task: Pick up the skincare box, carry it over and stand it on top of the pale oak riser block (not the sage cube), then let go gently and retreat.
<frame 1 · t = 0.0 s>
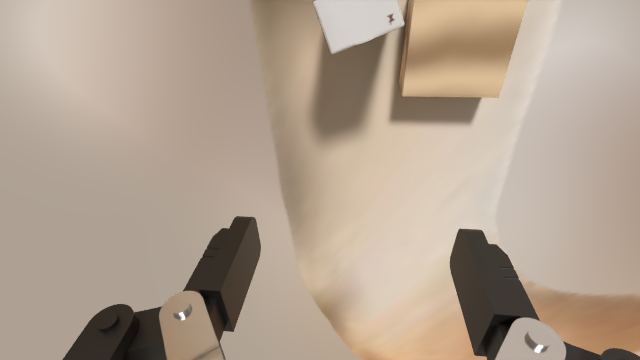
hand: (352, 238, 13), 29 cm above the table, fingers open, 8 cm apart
oak riser: (450, 39, 35), on the table
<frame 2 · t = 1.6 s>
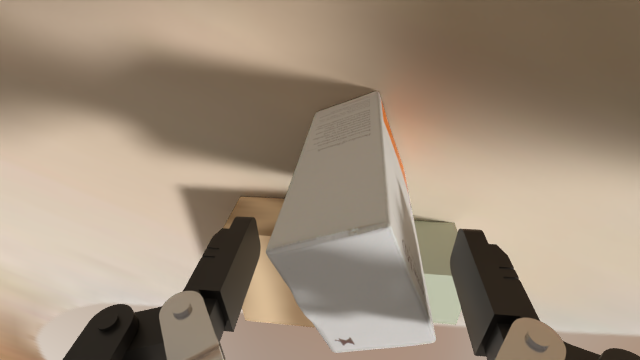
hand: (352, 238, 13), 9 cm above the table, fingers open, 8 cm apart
skincare box: (361, 139, 21), on the table
oak riser: (308, 247, 26), on the table
sage cube: (414, 244, 25), on the table
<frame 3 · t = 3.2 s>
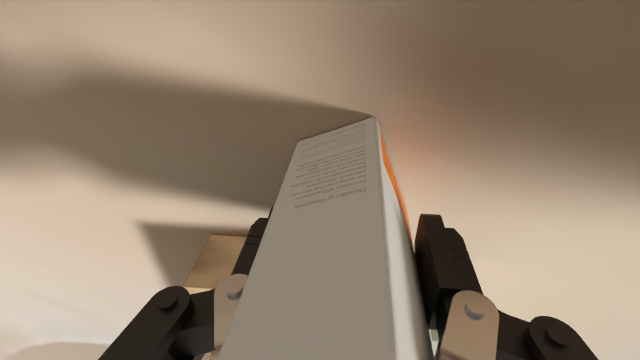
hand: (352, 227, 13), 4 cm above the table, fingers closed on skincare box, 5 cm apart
skincare box: (355, 172, 17), on the table, touching gripper
oak riser: (294, 289, 23), on the table
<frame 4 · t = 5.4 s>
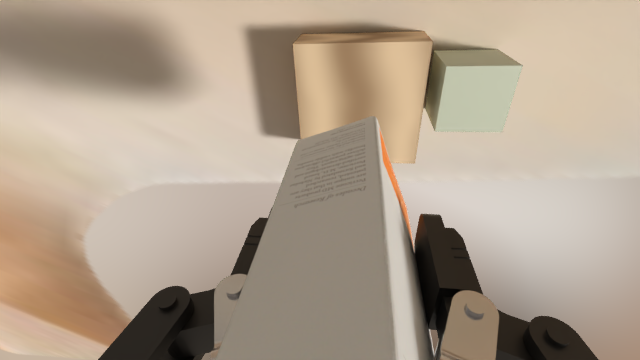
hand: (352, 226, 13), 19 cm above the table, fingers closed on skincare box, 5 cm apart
skincare box: (354, 171, 17), point 14 cm above the table, touching gripper
oak riser: (359, 92, 29), on the table
sage cube: (459, 80, 27), on the table
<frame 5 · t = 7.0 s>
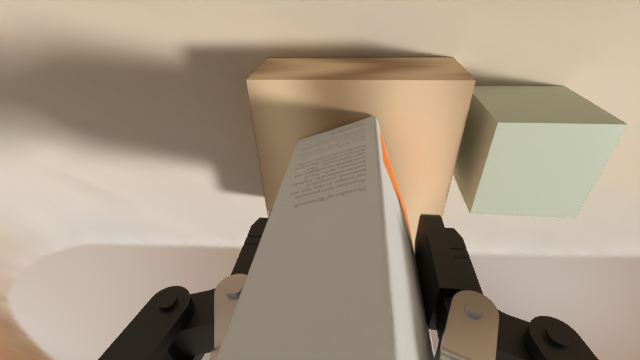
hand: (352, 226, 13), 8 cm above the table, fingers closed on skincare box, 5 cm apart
skincare box: (354, 172, 17), point 4 cm above the table, touching gripper
oak riser: (354, 140, 20), on the table
sage cube: (500, 127, 19), on the table
when the fingers open (8 cm above the table, at t = 7.9 s): skincare box stays where it is, resting on oak riser.
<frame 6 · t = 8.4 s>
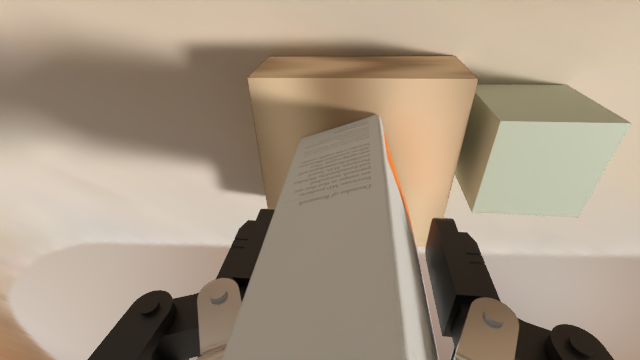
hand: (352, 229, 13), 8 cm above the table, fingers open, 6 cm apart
skincare box: (357, 170, 17), point 4 cm above the table, touching oak riser
oak riser: (356, 139, 20), on the table
sage cube: (502, 126, 19), on the table
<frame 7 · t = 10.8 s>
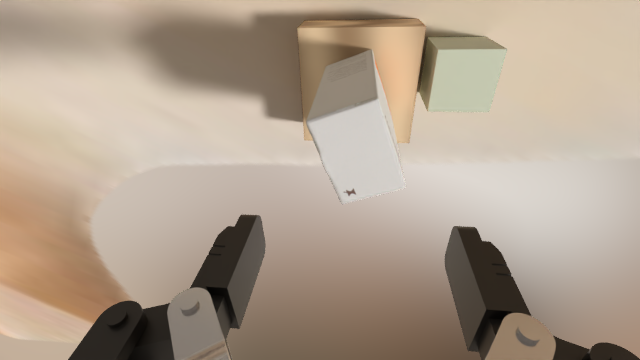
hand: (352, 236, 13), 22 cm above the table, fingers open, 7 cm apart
skincare box: (359, 88, 28), point 4 cm above the table, touching oak riser
oak riser: (358, 76, 31), on the table
sage cube: (450, 65, 30), on the table
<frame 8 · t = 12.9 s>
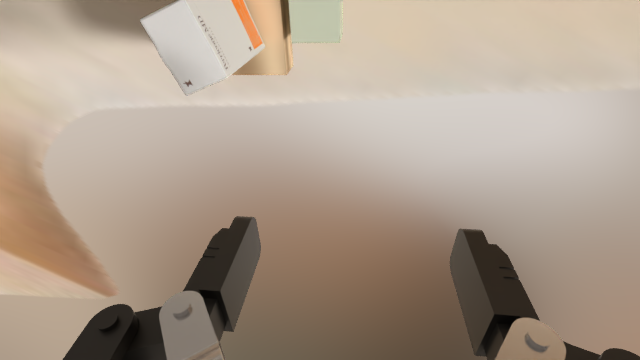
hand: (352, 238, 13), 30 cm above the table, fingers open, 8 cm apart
skincare box: (237, 25, 33), point 4 cm above the table, touching oak riser
oak riser: (247, 20, 37), on the table
sage cube: (320, 9, 35), on the table
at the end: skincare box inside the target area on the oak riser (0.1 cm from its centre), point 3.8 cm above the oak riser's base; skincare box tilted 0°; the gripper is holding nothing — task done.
